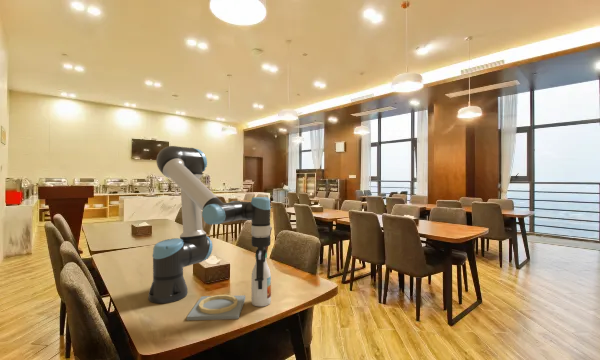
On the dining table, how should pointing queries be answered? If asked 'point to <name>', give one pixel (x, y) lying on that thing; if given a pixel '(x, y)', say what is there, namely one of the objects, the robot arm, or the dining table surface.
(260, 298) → the milk bottle
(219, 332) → the dining table surface
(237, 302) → the ring board
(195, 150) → the robot arm
